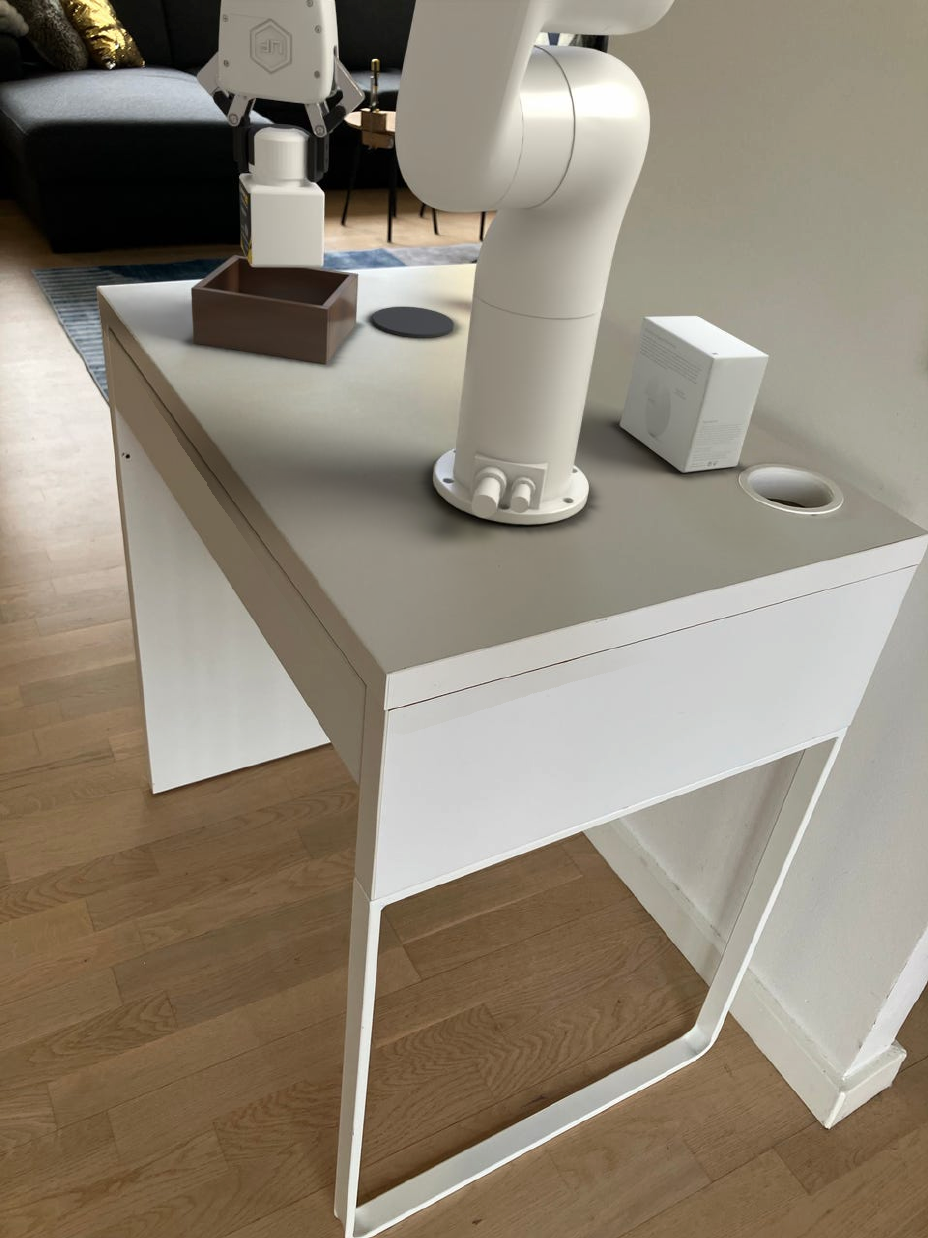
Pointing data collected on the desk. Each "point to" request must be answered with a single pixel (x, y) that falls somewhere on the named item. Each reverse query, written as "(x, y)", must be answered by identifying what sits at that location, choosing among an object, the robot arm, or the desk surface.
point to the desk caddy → (275, 309)
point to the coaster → (413, 322)
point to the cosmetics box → (692, 392)
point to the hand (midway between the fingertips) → (281, 173)
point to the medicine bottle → (280, 201)
